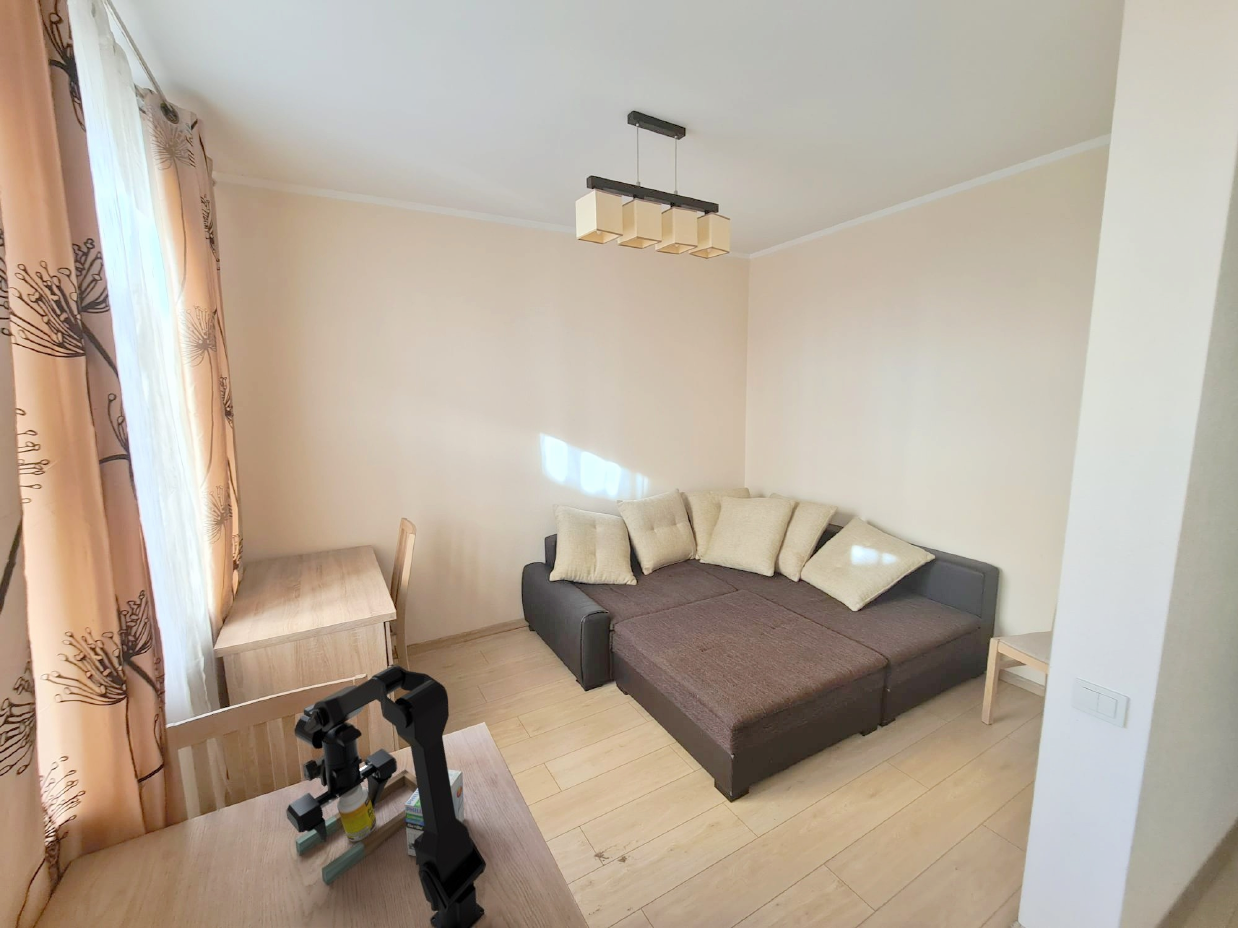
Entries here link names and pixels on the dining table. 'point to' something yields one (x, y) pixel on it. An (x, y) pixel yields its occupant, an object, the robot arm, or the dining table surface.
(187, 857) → the dining table surface
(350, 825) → the supplement bottle
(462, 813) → the light bulb box
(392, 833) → the bay
